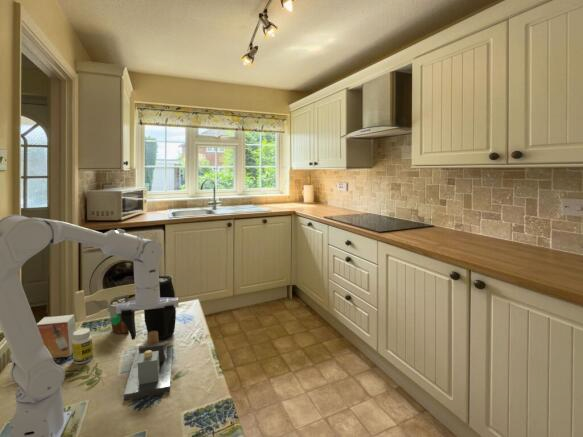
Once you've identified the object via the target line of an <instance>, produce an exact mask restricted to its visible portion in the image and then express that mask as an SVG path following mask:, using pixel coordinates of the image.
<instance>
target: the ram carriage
mask: <svg viewBox="0 0 583 437" xmlns="http://www.w3.org/2000/svg"><path fill="white" fill-rule="evenodd" d="M146 335H147V336H146V337H147V338H146V339H147V344H146V345H140V346H139V347H138V350H139V355H140V354H141V353H144V352H145V351H148V350H151V351H152V352H154V351H159V362H164V344H165V343H164V342H161V343H159V342H160V341H159V340H158V331H150V332H148V333H147V332H146Z"/></svg>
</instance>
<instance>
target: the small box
mask: <svg viewBox="0 0 583 437" xmlns="http://www.w3.org/2000/svg"><path fill="white" fill-rule="evenodd" d="M75 316H76V315H75V314H67V315H66V314H65V315H57V316H44V317H43V318H41V320H39V322H36V324H37V327H38V329H39V332H40V334H41V337H42V340H43V342H44V345H45V346H46V348H47V349H48V351H49V353H50V354H51V356H52V357H53V359H55V358H65V357H67V358H68V357H70V356H71V355H73V350H72V340H73V333H74V332H75V331H77V329H76V317H75Z"/></svg>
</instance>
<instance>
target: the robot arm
mask: <svg viewBox="0 0 583 437" xmlns="http://www.w3.org/2000/svg"><path fill="white" fill-rule="evenodd" d="M64 241H70V242H75V243H80V244H85V245H90V246H95V247H99V248H100V251H102V253H103V254H105V255H109V256H113V257H118V258H123V259H128V260H132V261H133V262H132V263H133V278H134V279H133V280H134V294H135V299H134V300H130V301H129V302H125V303H119V304H117V306H116V314H120V313H121V320H122V321H123V322H124V323H125V325H126V326H127V328H128V330H129V336H130V337H131V340H136V337H137V330H136V329H137V328H136V322H135V316H136V315H135V314H136V313H135V312H136V311H137V312H138V311H144V310H147V309H156V308H164V310H163V316H164V335H167V332H168V325H169V321H170V319H171V316H172V314H173V312H174V307H176V308H179V297H175V298H160V289H159V276H160V273H159V272H160V270H159V268H160V260H161V258H162V256H163V253H164V249H162V248H161V245H160V243H159V242H158V241H156V240H152V239H149V238H144V236H143V235H140V234H136V235H133V234H130V233H127V232H126V230H125V229H121V228H117V229H116V230H115V229H110V230H108V231H106V232H104V233H103V232H100V231H97V230H93V229H90V228H86V227H83V226H79V225H76V224H74V223H73V224H72V223H69V222H65V221H61V220H57V219H48V218H42V217H33V216H32V217H27V216H25V215H21V214H9V215H6V216H4V217H2V218H0V328H1V331H2V333H3V336H4V338H5V341H6V343H7V346H8V347H9V350H10V355H9V356H10V360H11V369H10V376H11V378H12V380H13V381H14V382H15V383H16V384H18V387H17V389H16V392H15V402H16V406H15V411H14V414H13V416H12V417H11V419H10V420H9V424H8V430H9V437H62V435H63V433H64V430H65V429H66V427H67V424H68V423H69V420H70V419H71V416H72V414H73V411H72V410H68V411H65V410H64V398H63V396H64V395H63V387H62V385H63V383H64V381H65V377H66V373H65V369H64V368H63V367H62V366H61V365H59V364H57V363H56V362H55V361H54V358H53V357H52V356H51V354H50V353H49V351H48V349H47V348H46V346H45V345H44V342H43V340H42V337H41V334H40V332H39V329H38V327H37V322H36V318H35V316H34V313H33V310H32V309H31V306H30V303H29V301H28V297H27V295H26V293H25V289H24V286H23V284H22V282H21V280H20V279H21V278H20V276H19V273H18V272H19V270H20V269H21V268H22V267H23V266H24V264H25V263H26V262H27V261H28V260H29V259H30V258H33V256H35V255H36V254H38V253H39V252H41V251H42V250H44V249H45V248H46V247H47V246H48V245H49V244H51V245H57V244H59V243H61V242H64Z"/></svg>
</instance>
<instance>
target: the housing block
mask: <svg viewBox="0 0 583 437" xmlns="http://www.w3.org/2000/svg"><path fill="white" fill-rule="evenodd" d="M159 372H160V368H159V351H154V352H152V351H151V350H148V351H145V352H144V353H141V354H140V355H139V359H138V379H139V384H145V383H151V382H156V381H158V380H159Z"/></svg>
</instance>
